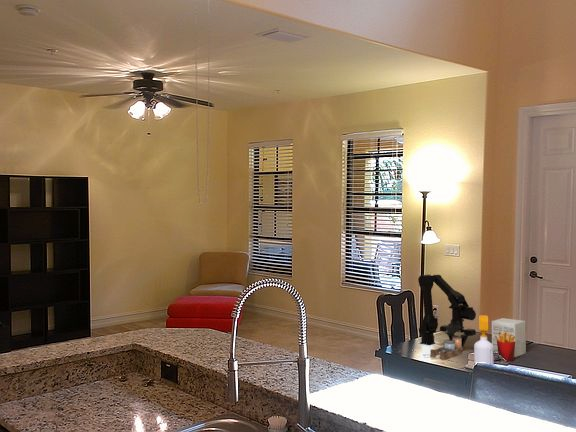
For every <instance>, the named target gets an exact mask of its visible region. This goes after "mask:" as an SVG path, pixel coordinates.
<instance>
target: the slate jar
mask: <svg viewBox="0 0 576 432" xmlns="http://www.w3.org/2000/svg"><path fill="white" fill-rule="evenodd" d="M443 343H444V344H443V345H444V346H443V347H444V348H449V349H452V351H453V350H455V340H450V339H444V340H443Z"/></svg>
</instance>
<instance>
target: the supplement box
mask: <svg viewBox="0 0 576 432" xmlns="http://www.w3.org/2000/svg"><path fill="white" fill-rule="evenodd" d="M499 331H501V336H502V334H504V333H505V332H507V333H508V334H509V337H510V334H512V336H511V338H512V337H513V336H515V339H514V342H515V350H514V358H518V357H519V356H522V355H524V354H526V353H527V351H526V349H527V348H526V344H527V343H526V341H527V339H526V337H527V336H526V333H527V332H526V320H521V319H520V320H519V319H513V318H504V317H502V318H498V319H495V320H491V343H492V344H493V351H495V352H498V348H497V341H498V340H497V339H496V338H495V335H496V336H497V338H498V339H499V340H500V338H499ZM506 338H508V336H506Z"/></svg>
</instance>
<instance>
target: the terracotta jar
mask: <svg viewBox="0 0 576 432" xmlns="http://www.w3.org/2000/svg"><path fill="white" fill-rule="evenodd" d="M461 335H462V334H454V335H452V340H455V350H456V349H459V348H461V351H463V348H464V346H463V347H462V337H461Z"/></svg>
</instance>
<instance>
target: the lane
mask: <svg viewBox="0 0 576 432" xmlns="http://www.w3.org/2000/svg"><path fill="white" fill-rule="evenodd" d="M442 347H443V348H444V346H442ZM439 352H440V354H439ZM429 354H430V355H429V356H430V358H433V359H436V358H437V356H439V360H443V361H444V360H449V359H452V358H454V357H458V356H460V355H462V350H461V348H459V349H456V350H453V351H450V352H447V353H445V352H444V351H440V347H438V348H435V349H430V353H429Z"/></svg>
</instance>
